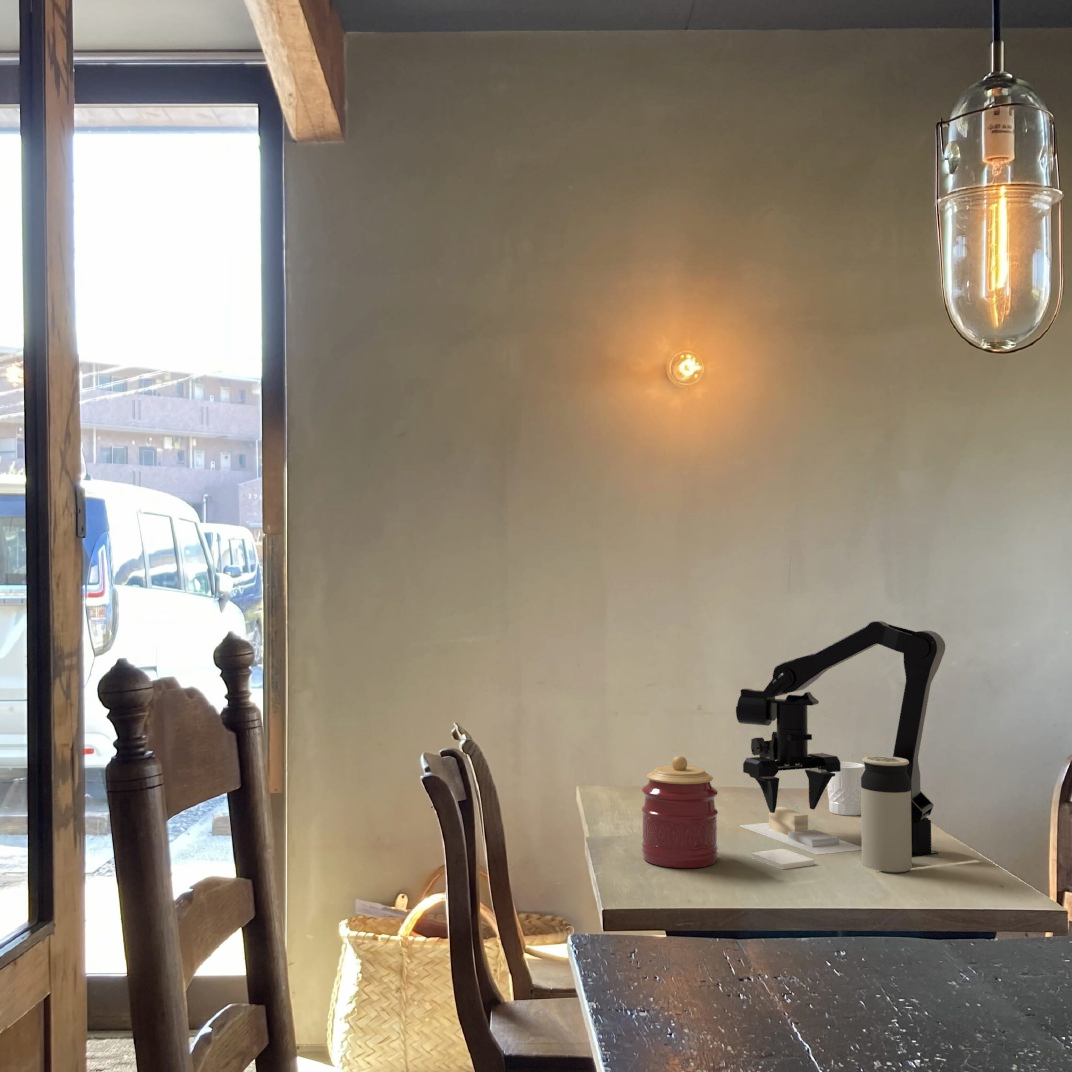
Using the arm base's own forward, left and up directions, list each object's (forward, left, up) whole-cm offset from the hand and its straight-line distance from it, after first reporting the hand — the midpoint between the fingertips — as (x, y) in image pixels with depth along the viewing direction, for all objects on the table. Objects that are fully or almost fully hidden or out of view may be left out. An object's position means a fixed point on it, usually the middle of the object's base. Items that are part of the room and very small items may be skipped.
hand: (792, 810), depth 195 cm
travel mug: (-24, -1, -5) cm, 25 cm away
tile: (-12, +14, -4) cm, 19 cm away
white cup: (+14, -24, -5) cm, 28 cm away
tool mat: (-2, 0, -5) cm, 5 cm away
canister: (-7, +29, -5) cm, 30 cm away
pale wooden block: (-2, 0, -4) cm, 5 cm away
